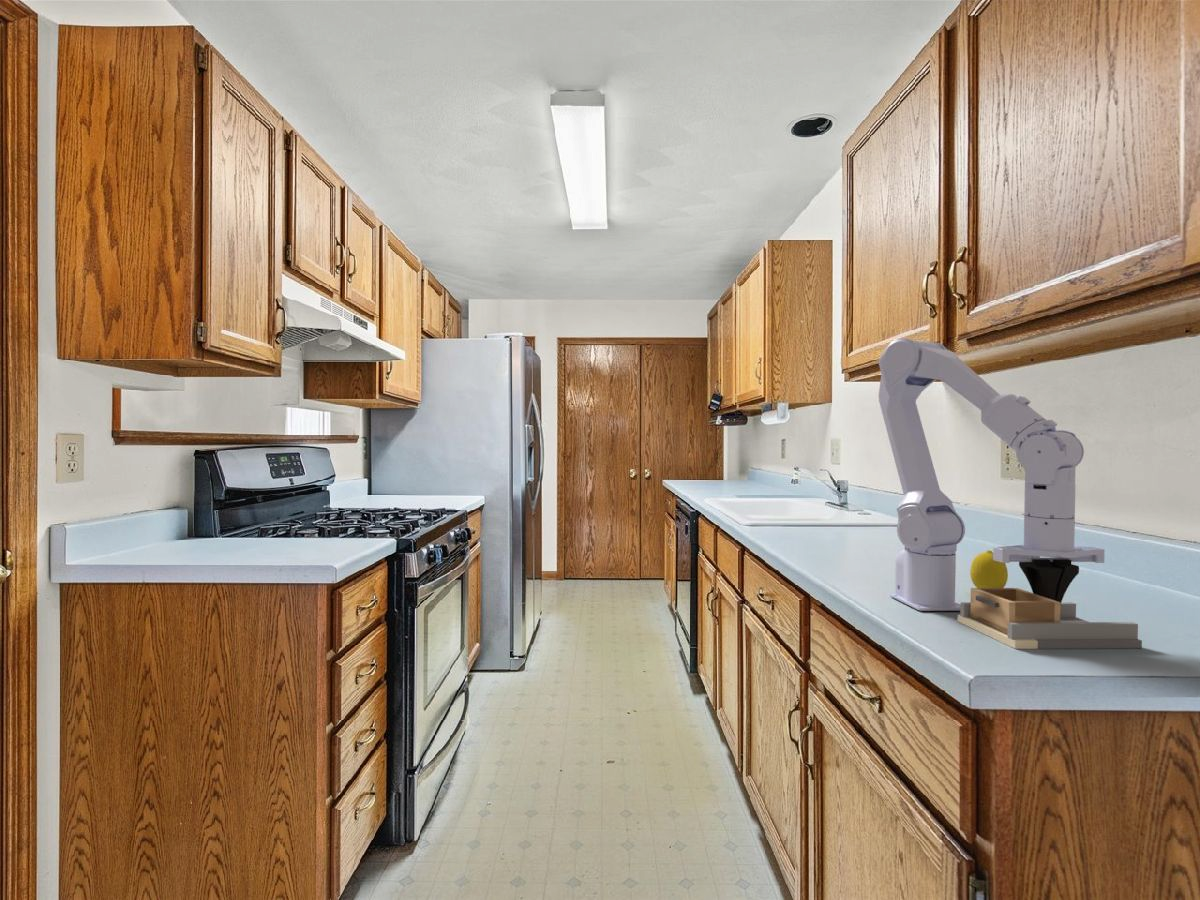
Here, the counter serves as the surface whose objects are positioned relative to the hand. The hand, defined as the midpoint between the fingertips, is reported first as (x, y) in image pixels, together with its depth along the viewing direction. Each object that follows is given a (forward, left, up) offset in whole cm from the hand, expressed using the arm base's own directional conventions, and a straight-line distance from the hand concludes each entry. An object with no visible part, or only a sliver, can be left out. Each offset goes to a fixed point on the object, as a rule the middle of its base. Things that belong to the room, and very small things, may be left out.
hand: (1047, 613), depth 85 cm
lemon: (-21, +6, -3) cm, 22 cm away
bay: (0, 0, -3) cm, 3 cm away
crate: (0, -5, -2) cm, 6 cm away
